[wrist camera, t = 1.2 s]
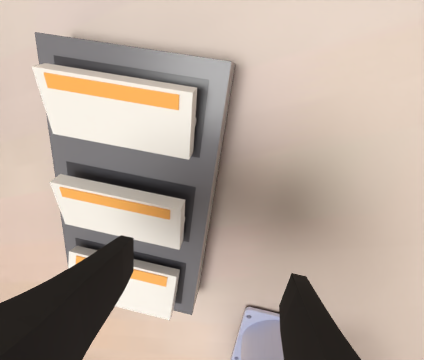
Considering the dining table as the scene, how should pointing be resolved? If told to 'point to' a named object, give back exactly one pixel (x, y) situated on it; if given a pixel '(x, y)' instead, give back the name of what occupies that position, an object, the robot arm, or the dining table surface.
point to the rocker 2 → (142, 286)
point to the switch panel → (146, 161)
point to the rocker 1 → (119, 109)
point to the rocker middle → (120, 210)
